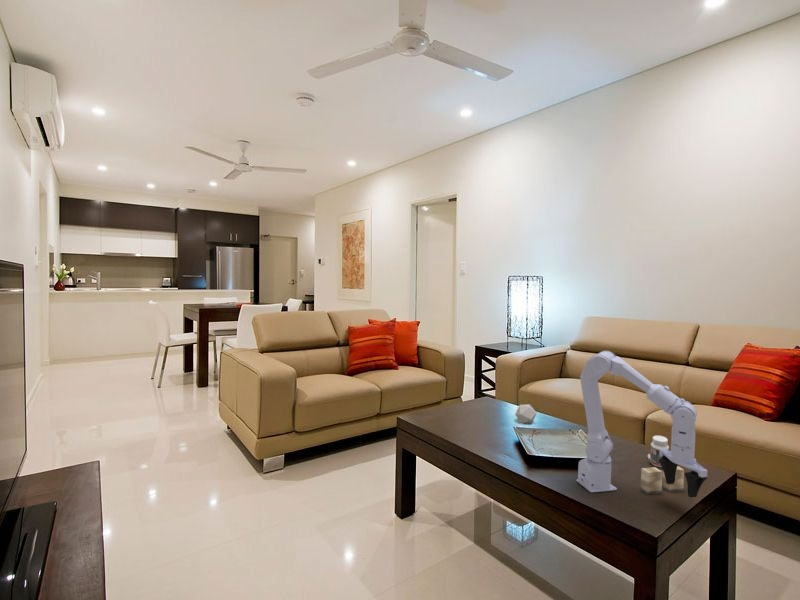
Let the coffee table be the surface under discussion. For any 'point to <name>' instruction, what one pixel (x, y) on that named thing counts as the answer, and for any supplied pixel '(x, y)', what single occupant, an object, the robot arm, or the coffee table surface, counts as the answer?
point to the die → (525, 413)
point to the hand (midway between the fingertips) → (681, 489)
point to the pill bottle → (657, 449)
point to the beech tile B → (678, 482)
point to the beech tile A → (651, 480)
